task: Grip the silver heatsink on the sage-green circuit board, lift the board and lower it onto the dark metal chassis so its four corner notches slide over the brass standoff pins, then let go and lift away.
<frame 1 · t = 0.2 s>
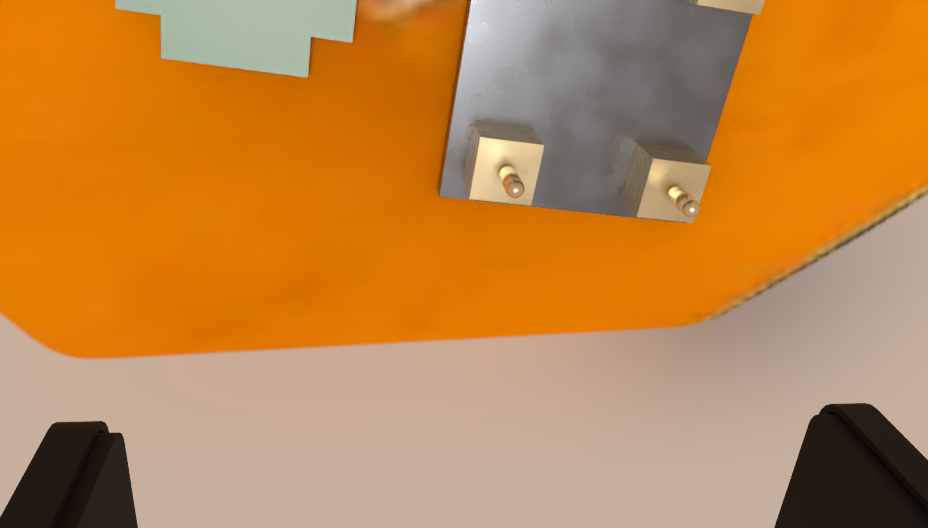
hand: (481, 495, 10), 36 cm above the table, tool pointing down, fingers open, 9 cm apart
chassis: (597, 60, 45), on the table
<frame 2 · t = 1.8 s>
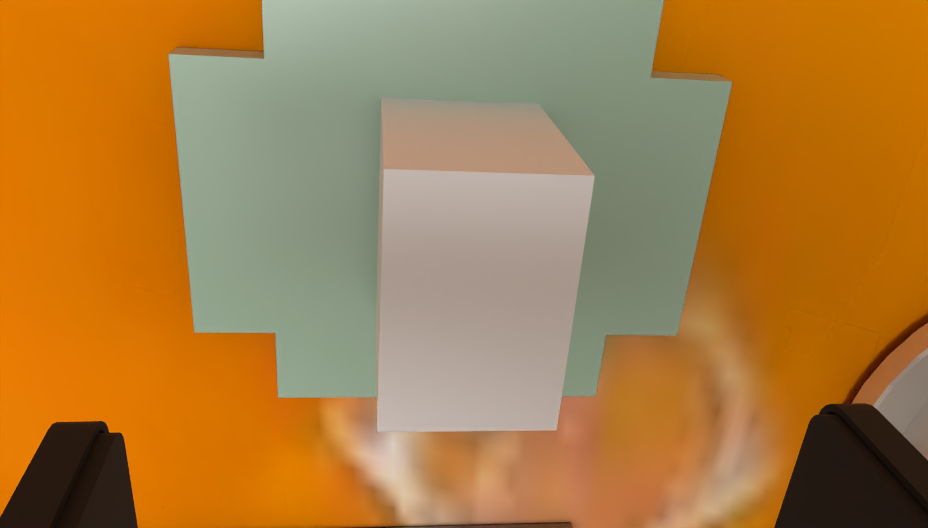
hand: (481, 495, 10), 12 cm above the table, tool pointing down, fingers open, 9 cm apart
circuit board: (450, 198, 22), on the table
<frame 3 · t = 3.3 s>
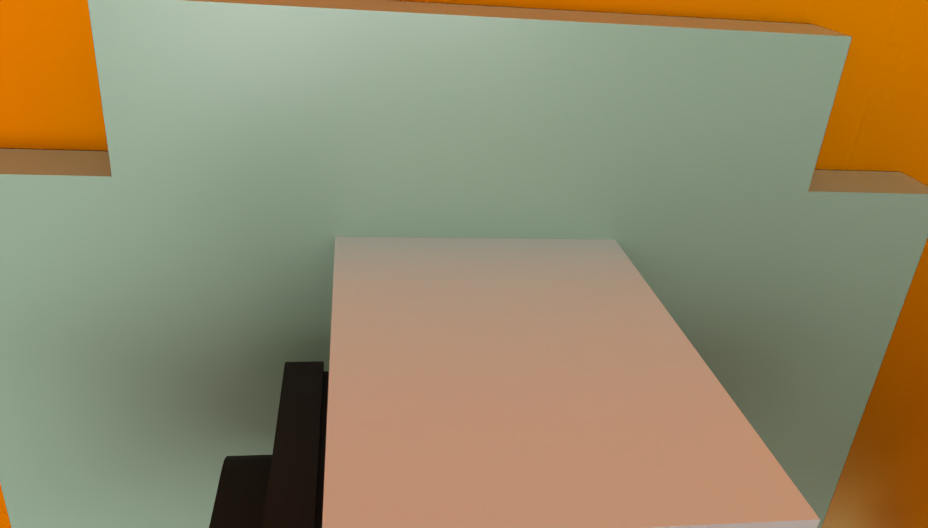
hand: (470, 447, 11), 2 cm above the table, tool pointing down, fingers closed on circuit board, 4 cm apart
circuit board: (456, 374, 13), on the table, touching gripper
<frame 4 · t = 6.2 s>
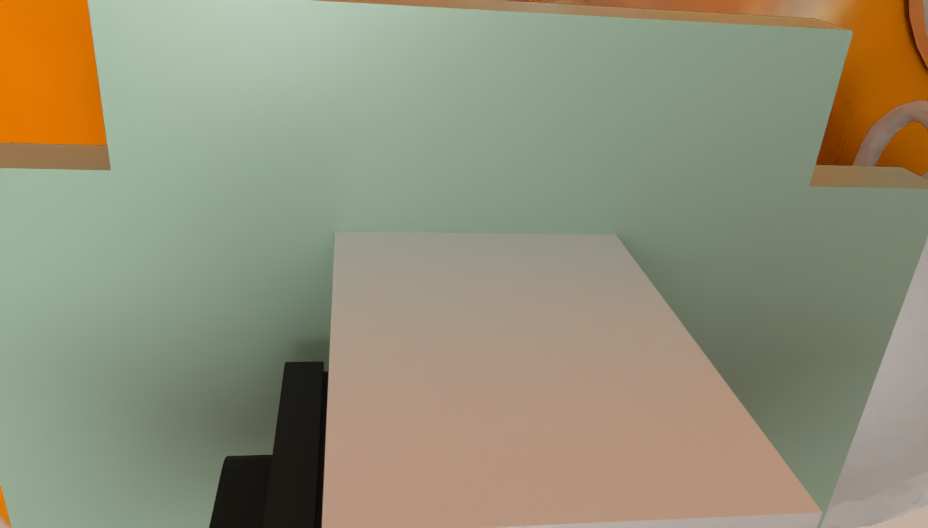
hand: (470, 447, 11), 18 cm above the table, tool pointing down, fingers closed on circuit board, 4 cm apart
teacup: (784, 251, 32), on the table
circuit board: (456, 370, 13), point 16 cm above the table, touching gripper
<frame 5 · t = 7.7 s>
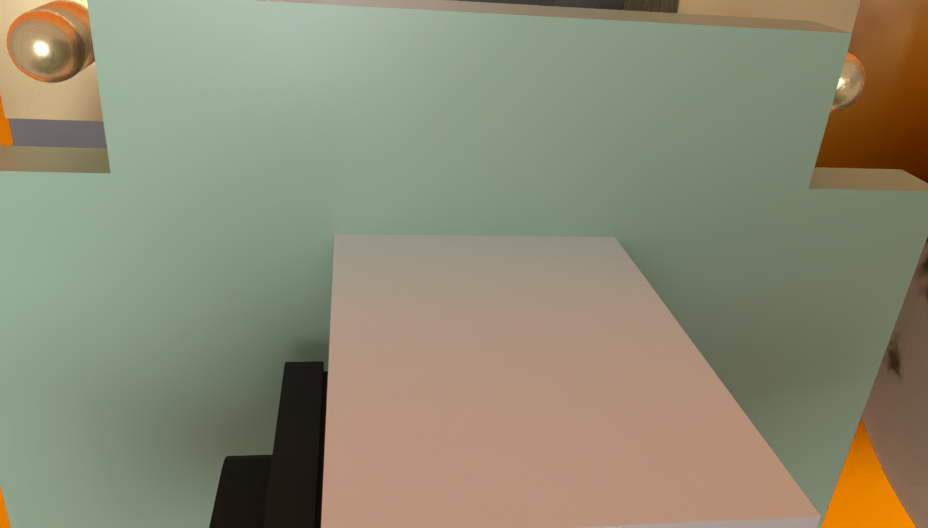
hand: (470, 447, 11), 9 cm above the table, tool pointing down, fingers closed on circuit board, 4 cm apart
circuit board: (455, 372, 13), point 7 cm above the table, touching gripper
chassis: (420, 207, 20), on the table
when the fingers open (7 cm above the table, at t = 8.9 s): circuit board stays where it is, resting on chassis.
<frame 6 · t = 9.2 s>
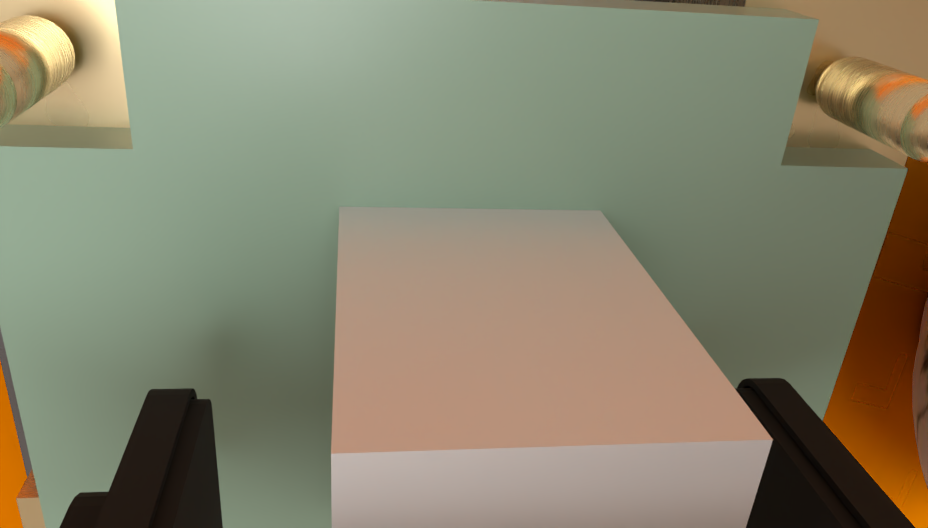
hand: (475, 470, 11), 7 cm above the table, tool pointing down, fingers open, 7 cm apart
circuit board: (452, 342, 14), point 4 cm above the table, touching chassis
chassis: (428, 250, 17), on the table
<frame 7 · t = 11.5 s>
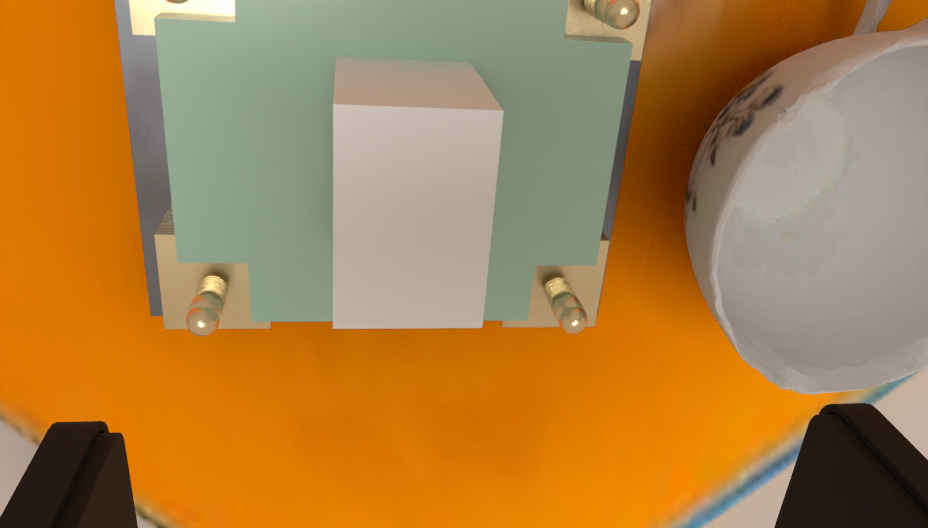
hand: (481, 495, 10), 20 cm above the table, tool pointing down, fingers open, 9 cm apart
teacup: (783, 128, 31), on the table
circuit board: (398, 146, 25), point 4 cm above the table, touching chassis
chassis: (389, 115, 29), on the table
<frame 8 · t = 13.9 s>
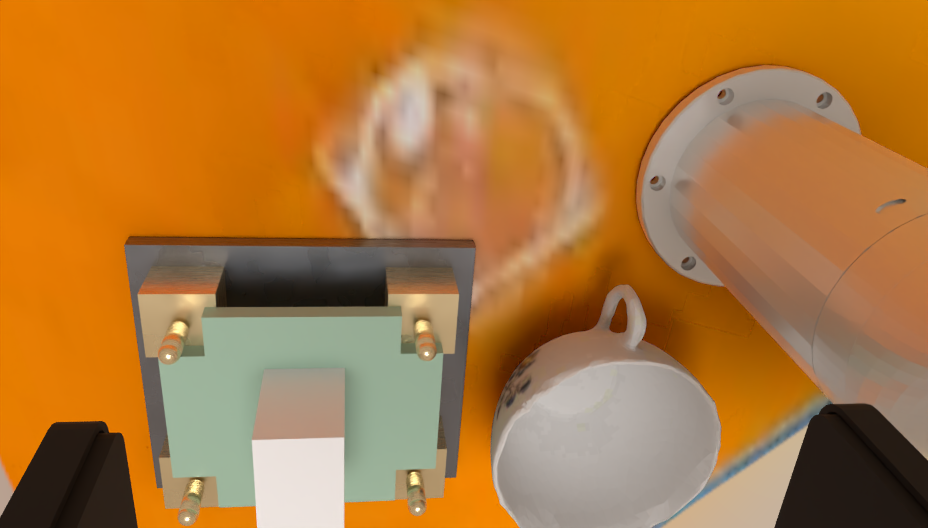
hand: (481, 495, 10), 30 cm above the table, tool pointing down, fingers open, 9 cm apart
teacup: (575, 358, 47), on the table
circuit board: (306, 404, 41), point 4 cm above the table, touching chassis
chassis: (309, 364, 45), on the table
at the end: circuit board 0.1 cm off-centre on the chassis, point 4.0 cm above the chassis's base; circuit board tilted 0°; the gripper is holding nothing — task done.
